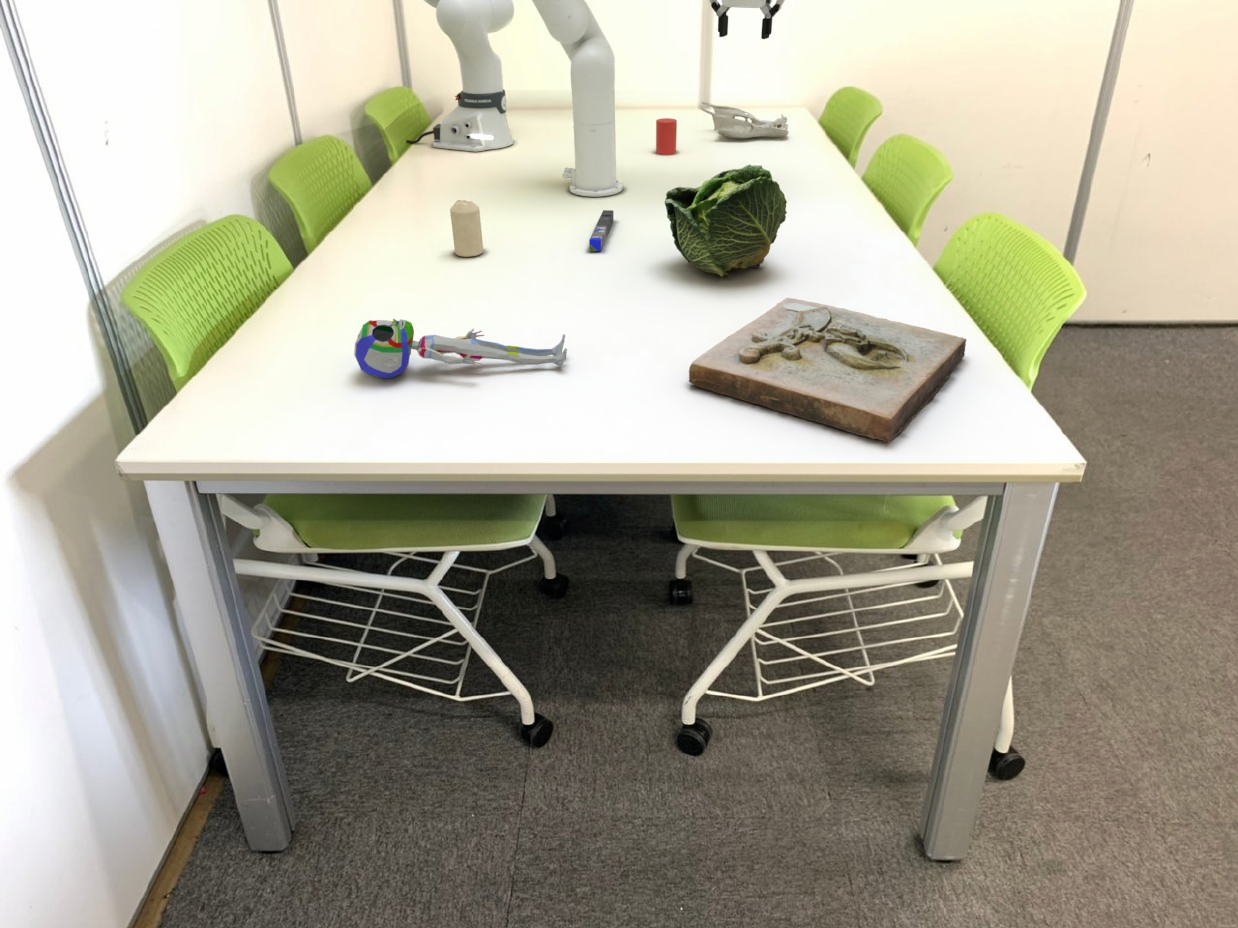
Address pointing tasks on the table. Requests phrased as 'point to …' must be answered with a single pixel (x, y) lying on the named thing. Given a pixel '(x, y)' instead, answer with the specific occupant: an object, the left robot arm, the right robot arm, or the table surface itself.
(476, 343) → the toy
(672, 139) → the canister
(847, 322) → the plaque
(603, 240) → the pillar
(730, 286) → the table surface
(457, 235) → the candle
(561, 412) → the table surface
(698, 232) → the vegetable
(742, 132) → the anatomical model
